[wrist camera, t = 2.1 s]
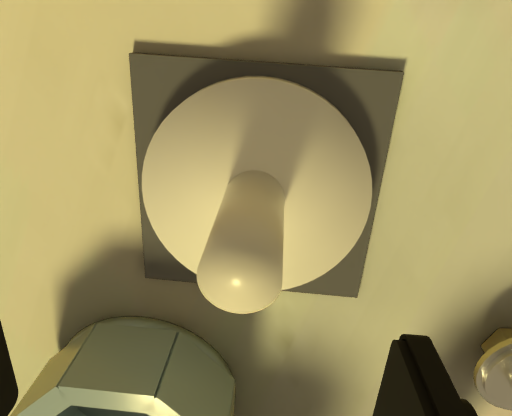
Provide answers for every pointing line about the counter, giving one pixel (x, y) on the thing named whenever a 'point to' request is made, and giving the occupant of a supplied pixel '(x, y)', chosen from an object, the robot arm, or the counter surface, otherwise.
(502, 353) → the screw
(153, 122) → the mat
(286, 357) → the counter surface
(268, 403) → the counter surface
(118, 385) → the bowl
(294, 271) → the lid
